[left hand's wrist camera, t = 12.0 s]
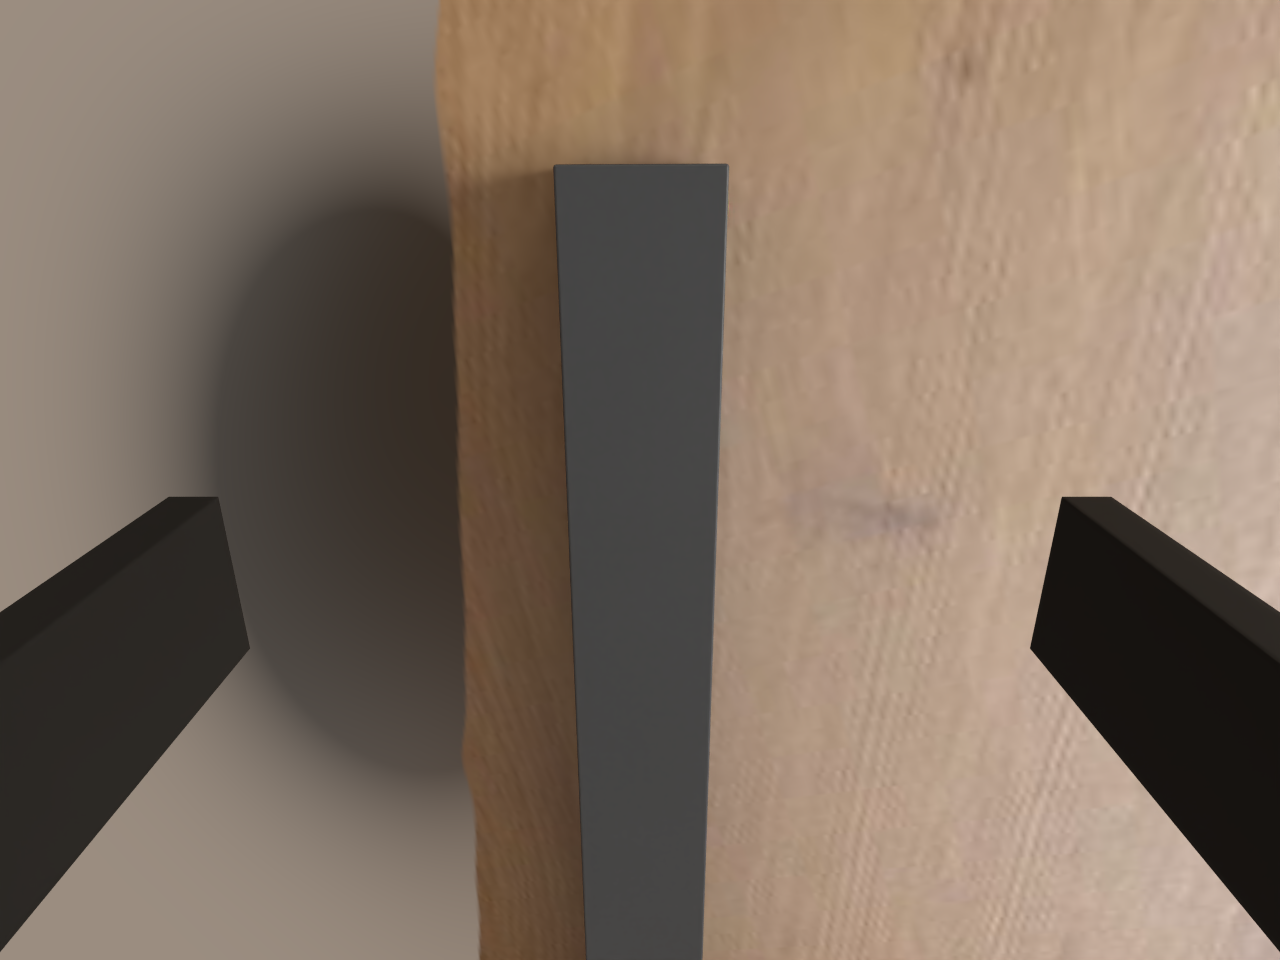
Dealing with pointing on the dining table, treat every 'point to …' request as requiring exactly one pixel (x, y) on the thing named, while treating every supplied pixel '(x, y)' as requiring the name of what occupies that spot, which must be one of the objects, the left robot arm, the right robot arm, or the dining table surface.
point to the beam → (642, 534)
